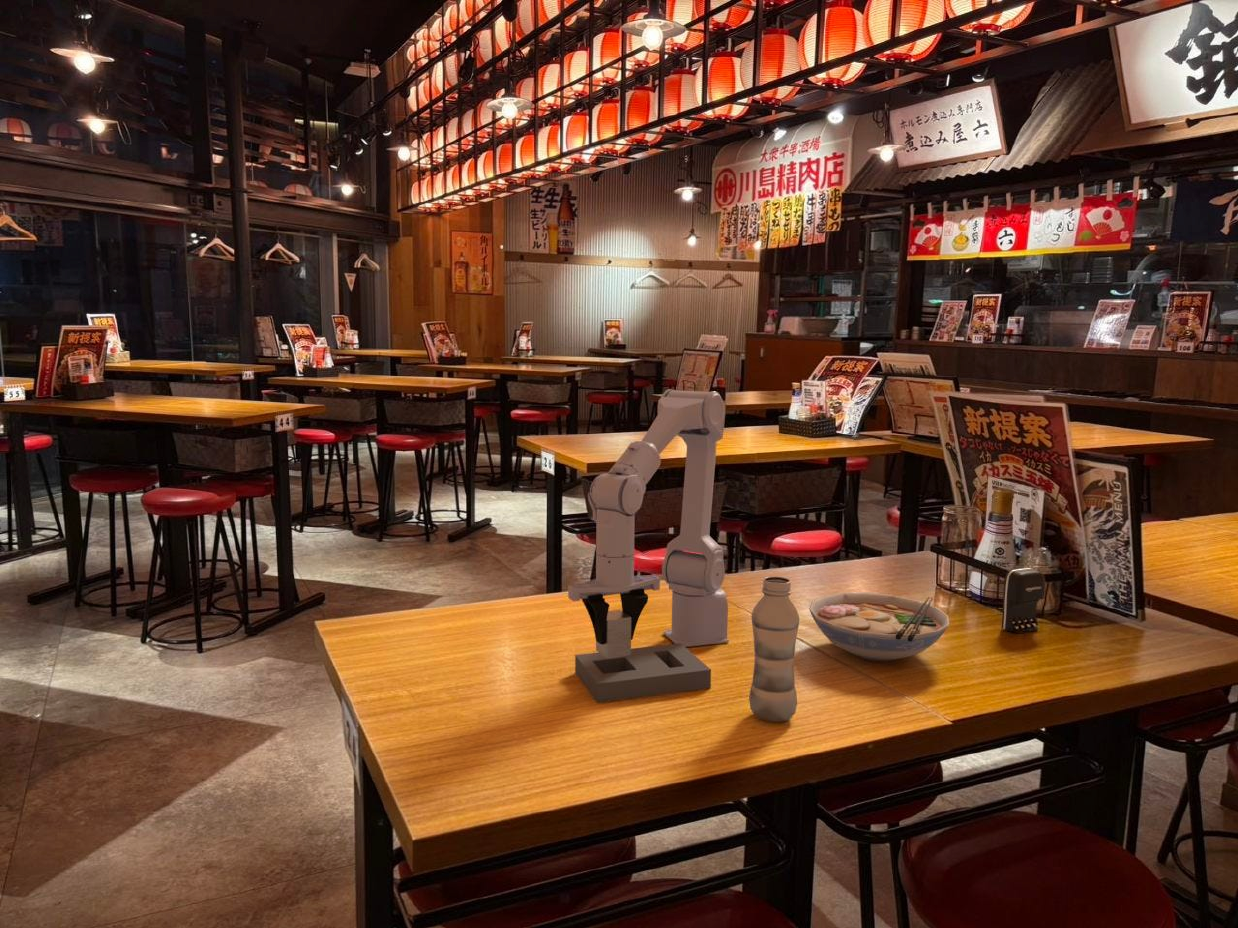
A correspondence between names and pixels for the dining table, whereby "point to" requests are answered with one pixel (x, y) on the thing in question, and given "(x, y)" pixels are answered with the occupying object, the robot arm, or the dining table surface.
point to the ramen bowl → (879, 624)
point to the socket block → (642, 673)
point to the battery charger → (1022, 599)
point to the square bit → (616, 635)
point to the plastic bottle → (774, 652)
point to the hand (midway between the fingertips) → (614, 639)
